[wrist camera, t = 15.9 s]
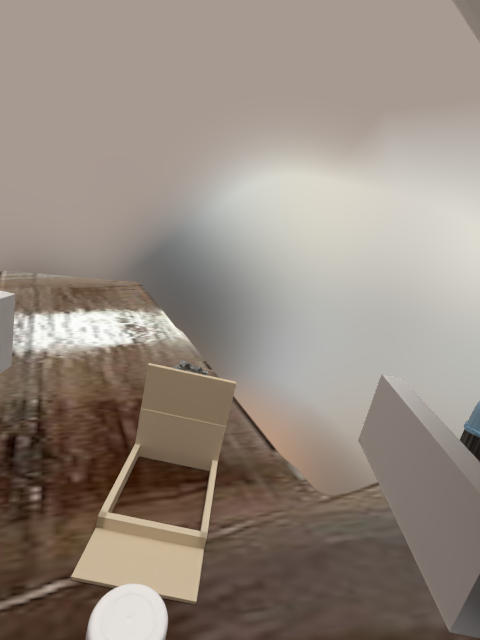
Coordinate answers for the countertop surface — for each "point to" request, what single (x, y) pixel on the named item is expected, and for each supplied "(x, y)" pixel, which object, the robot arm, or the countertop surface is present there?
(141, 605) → the spice jar
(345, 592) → the countertop surface
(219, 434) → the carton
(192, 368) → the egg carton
